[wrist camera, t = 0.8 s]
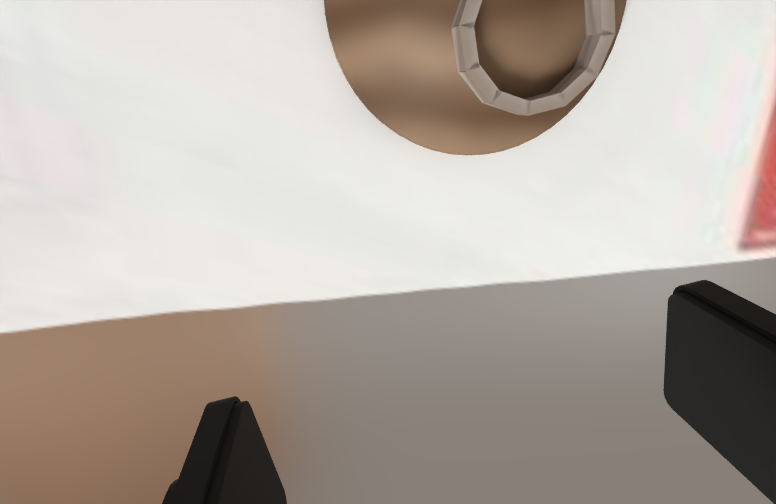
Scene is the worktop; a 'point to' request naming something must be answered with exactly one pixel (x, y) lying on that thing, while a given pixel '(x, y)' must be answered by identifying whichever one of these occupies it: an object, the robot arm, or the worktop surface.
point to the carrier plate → (472, 65)
